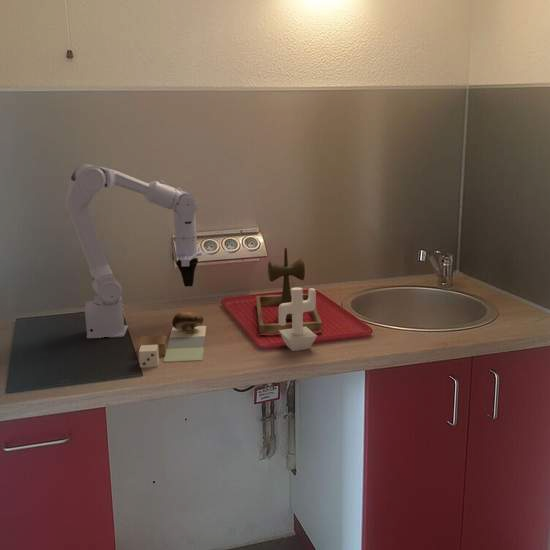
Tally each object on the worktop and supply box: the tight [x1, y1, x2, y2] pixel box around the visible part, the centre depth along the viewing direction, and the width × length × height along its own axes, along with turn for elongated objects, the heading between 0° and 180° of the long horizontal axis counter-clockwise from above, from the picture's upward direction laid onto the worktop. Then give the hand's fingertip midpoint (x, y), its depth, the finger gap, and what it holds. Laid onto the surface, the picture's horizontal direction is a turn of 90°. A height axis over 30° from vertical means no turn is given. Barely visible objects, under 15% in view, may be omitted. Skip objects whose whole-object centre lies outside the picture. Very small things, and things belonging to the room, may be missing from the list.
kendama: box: [267, 247, 306, 321], centre depth 187 cm, size 6×10×20 cm, turn 100°
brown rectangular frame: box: [255, 293, 323, 335], centre depth 189 cm, size 16×26×3 cm, turn 3°
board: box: [163, 325, 207, 363], centre depth 172 cm, size 9×24×1 cm, turn 3°
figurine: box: [277, 287, 318, 352], centre depth 166 cm, size 7×9×15 cm
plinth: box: [138, 335, 168, 357], centre depth 167 cm, size 6×6×3 cm
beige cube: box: [138, 345, 160, 368], centre depth 160 cm, size 4×4×4 cm
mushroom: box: [171, 310, 204, 333], centre depth 179 cm, size 8×8×6 cm
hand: (188, 285), depth 187 cm, fingers closed
